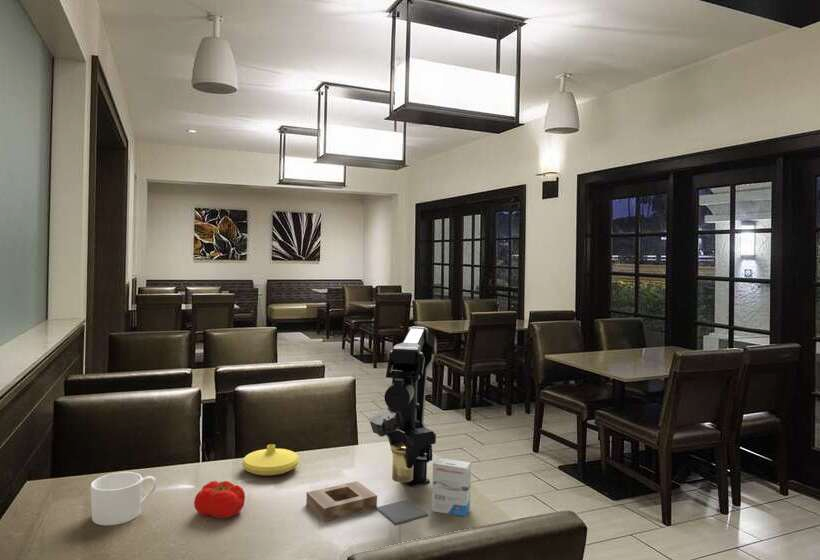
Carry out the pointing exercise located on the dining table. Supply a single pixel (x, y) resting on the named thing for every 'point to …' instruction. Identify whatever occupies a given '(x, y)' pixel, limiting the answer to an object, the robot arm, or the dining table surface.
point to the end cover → (400, 464)
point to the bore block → (355, 502)
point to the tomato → (220, 499)
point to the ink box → (451, 486)
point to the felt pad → (401, 511)
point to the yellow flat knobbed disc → (270, 461)
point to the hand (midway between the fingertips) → (402, 463)
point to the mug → (118, 497)
